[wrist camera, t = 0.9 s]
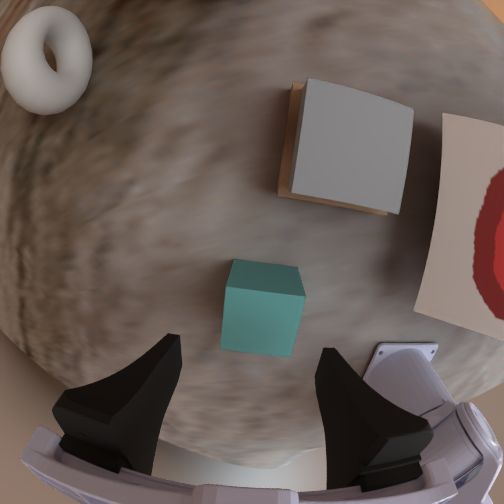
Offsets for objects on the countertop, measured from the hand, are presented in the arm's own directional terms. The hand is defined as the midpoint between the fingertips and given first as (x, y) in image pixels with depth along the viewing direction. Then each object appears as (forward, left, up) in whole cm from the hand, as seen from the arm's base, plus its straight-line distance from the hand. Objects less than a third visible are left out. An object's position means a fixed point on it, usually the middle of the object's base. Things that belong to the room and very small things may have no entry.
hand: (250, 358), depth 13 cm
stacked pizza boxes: (+9, -27, -10) cm, 30 cm away
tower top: (+11, -5, -8) cm, 14 cm away
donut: (+17, +17, -10) cm, 26 cm away
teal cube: (-1, -1, -10) cm, 10 cm away
